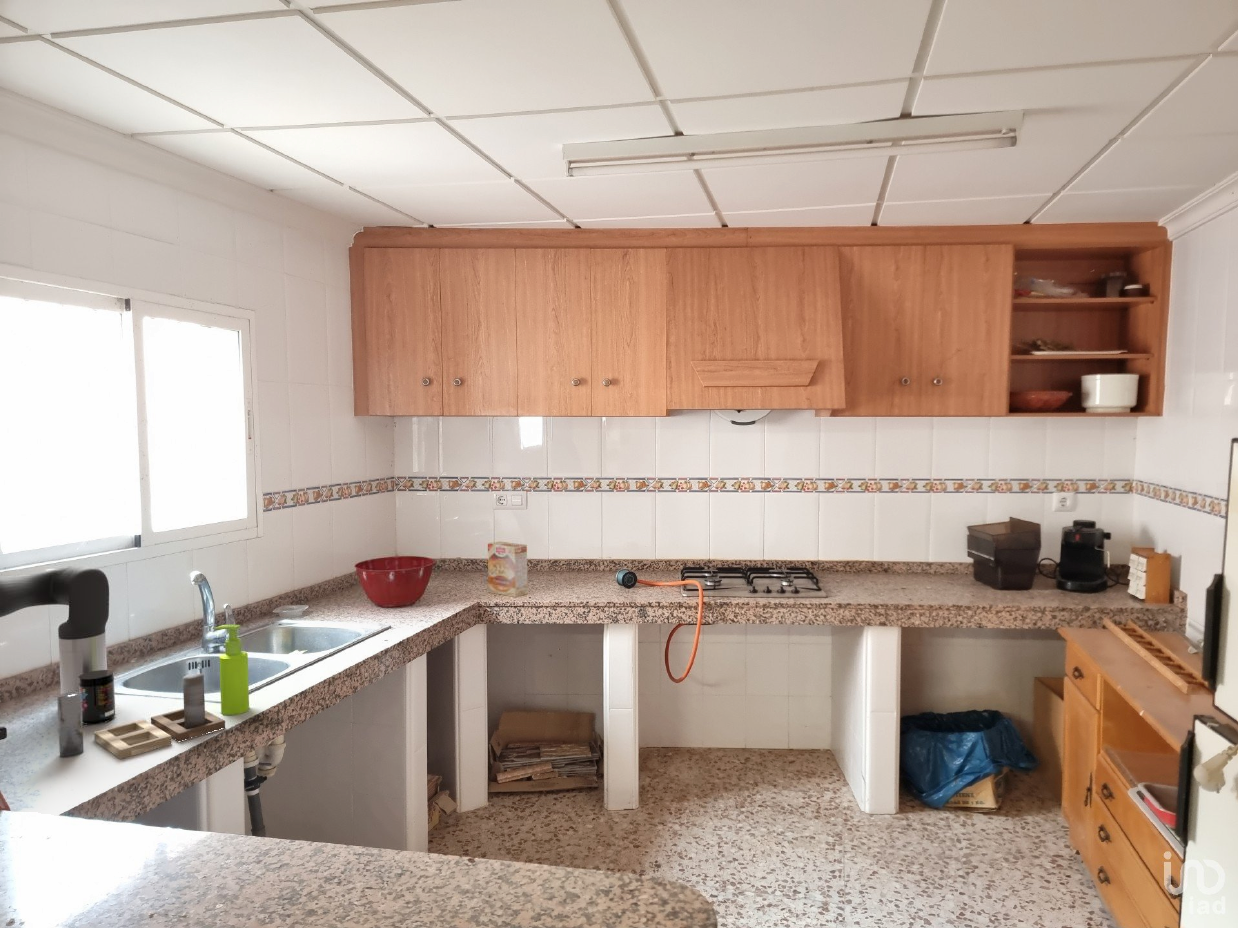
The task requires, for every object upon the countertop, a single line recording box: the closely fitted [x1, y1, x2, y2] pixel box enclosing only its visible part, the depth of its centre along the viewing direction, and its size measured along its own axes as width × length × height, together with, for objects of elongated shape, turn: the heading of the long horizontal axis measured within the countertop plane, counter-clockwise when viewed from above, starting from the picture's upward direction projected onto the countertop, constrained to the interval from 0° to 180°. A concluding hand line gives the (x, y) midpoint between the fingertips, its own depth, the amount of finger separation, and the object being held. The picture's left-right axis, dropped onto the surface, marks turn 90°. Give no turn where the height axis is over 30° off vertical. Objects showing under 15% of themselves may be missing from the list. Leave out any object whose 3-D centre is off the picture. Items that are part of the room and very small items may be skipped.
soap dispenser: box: [213, 624, 250, 716], centre depth 187 cm, size 6×7×20 cm
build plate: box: [93, 718, 172, 760], centre depth 169 cm, size 15×10×2 cm, turn 50°
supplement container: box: [79, 669, 116, 725], centre depth 182 cm, size 7×7×10 cm
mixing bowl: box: [353, 555, 436, 609], centre depth 297 cm, size 28×28×16 cm
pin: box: [56, 692, 85, 758], centre depth 163 cm, size 4×4×12 cm
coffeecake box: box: [487, 541, 528, 598], centre depth 314 cm, size 15×7×20 cm, turn 53°
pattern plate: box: [150, 673, 226, 742], centre depth 177 cm, size 15×10×12 cm, turn 50°
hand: (0, 726), depth 154 cm, fingers open, 8 cm apart
